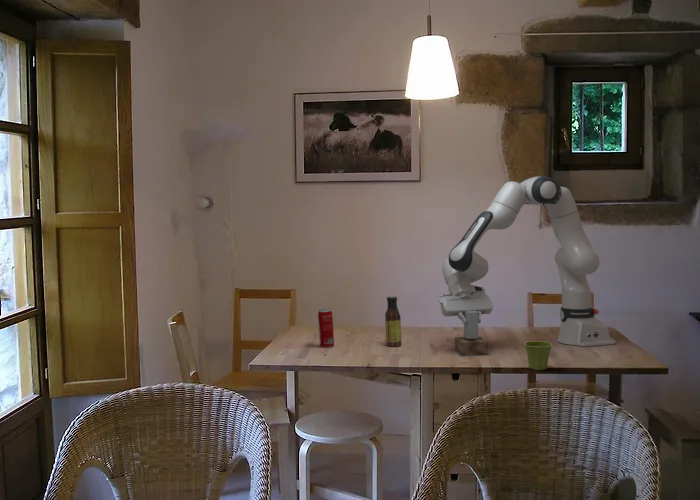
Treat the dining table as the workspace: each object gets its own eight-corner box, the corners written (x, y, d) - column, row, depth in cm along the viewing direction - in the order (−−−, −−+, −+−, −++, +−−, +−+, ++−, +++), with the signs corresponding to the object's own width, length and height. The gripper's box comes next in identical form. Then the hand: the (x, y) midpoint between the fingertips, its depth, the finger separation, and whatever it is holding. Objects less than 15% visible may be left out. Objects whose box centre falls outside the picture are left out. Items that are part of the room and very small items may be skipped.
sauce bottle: (404, 345, 297) (404, 296, 295) (394, 347, 292) (394, 298, 291) (392, 343, 301) (391, 295, 300) (382, 345, 297) (381, 296, 295)
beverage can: (336, 345, 298) (335, 309, 297) (329, 348, 292) (328, 311, 291) (323, 344, 301) (322, 308, 299) (316, 347, 295) (315, 310, 293)
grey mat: (482, 349, 287) (482, 348, 287) (490, 356, 275) (490, 355, 275) (451, 350, 286) (451, 349, 286) (459, 357, 274) (459, 356, 274)
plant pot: (552, 372, 251) (553, 347, 250) (524, 371, 253) (524, 346, 252) (551, 365, 260) (551, 341, 259) (523, 364, 262) (523, 340, 261)
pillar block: (473, 336, 282) (473, 310, 282) (478, 338, 279) (478, 312, 278) (463, 336, 281) (463, 311, 281) (468, 338, 278) (468, 312, 277)
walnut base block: (480, 349, 286) (480, 336, 286) (487, 354, 276) (487, 341, 276) (455, 350, 285) (455, 337, 285) (461, 355, 275) (461, 342, 275)
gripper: (439, 290, 282) (449, 319, 273) (487, 287, 287) (499, 316, 279) (434, 300, 286) (444, 329, 278) (482, 297, 292) (494, 326, 283)
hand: (472, 322), depth 278 cm, fingers closed on pillar block, 4 cm apart
